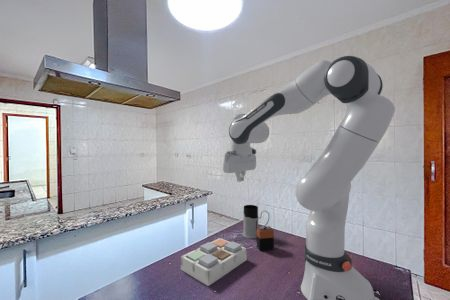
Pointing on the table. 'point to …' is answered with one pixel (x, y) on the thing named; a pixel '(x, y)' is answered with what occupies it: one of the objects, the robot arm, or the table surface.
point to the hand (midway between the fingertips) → (240, 181)
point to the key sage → (195, 255)
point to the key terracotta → (220, 243)
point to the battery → (265, 238)
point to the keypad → (213, 261)
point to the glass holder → (251, 221)
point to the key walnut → (221, 255)
